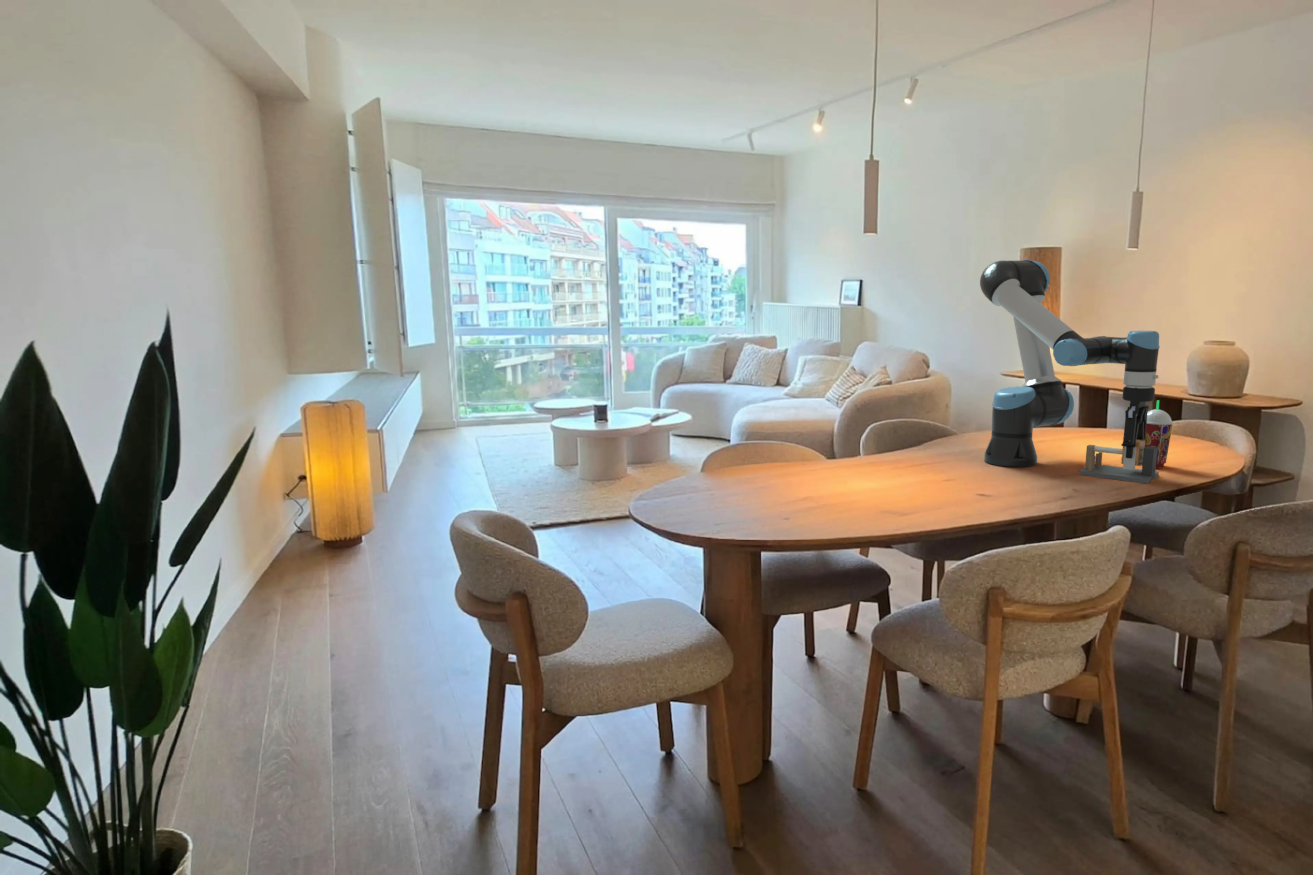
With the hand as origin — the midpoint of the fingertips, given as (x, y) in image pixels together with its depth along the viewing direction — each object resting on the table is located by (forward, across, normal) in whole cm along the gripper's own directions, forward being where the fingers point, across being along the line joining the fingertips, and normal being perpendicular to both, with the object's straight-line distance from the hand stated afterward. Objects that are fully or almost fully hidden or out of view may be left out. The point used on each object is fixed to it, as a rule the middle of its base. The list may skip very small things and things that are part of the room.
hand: (1132, 466), depth 214 cm
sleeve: (-1, 0, 0) cm, 1 cm away
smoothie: (+3, +19, -1) cm, 19 cm away
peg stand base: (+3, 0, +3) cm, 4 cm away
